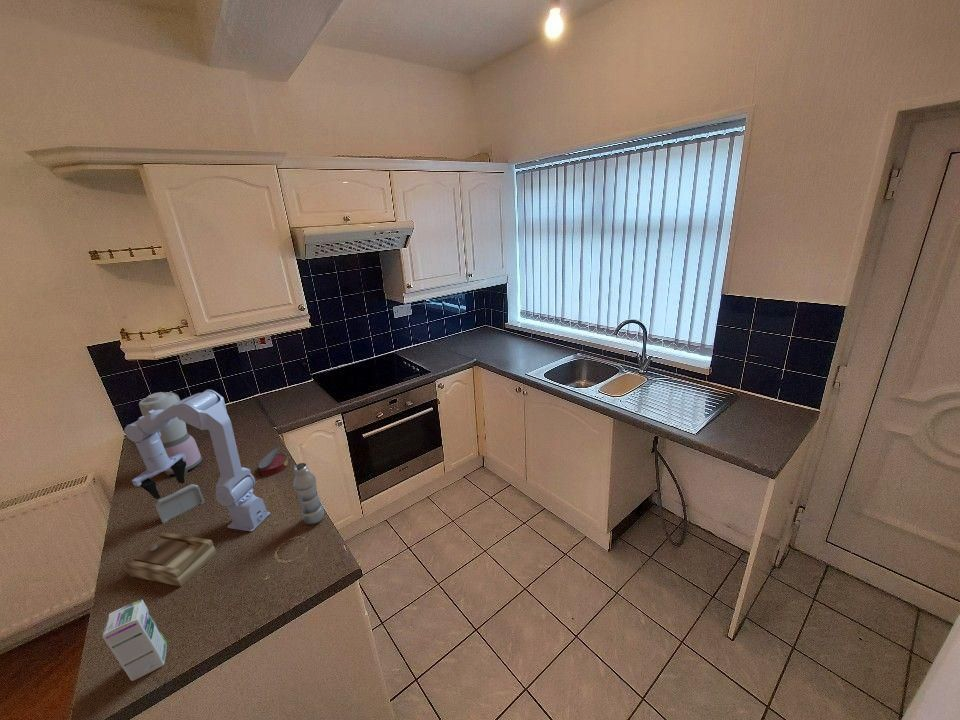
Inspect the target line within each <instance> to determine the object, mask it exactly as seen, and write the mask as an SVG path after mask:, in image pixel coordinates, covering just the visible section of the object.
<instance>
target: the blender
mask: <svg viewBox="0 0 960 720" xmlns="http://www.w3.org/2000/svg"><path fill="white" fill-rule="evenodd" d="M179 401H181V398H180V396H179V394H177V393H175V392H172V391H169V392H168V391H166V392H163V391H159V392H154V393H152V394H149V395H148V396H146V397H145V398H143V399H142V400H140V401H139V403H138V407H139V409H140V412H141V417H142V416H144V417H145V416H146V415H148V414H147V412H149V411H151V410H166V409H167V408H169V407H171V406H172V405H174V404H175V403H177V402H179ZM186 424H187V423H186V422H184V421H182V420H179V419H178V418H177V417H175V418H173V419H172V422H171V424H170V425H169V426H168V427H166V428H164V429H162V430H160V433H161V436H160V439H161V441H162V444H163V446H164V448H165V451H166V453H167V455H168V458H170V457H173V456H175V455H177V454H179V453H183V454H185V456H186V459H185V460H183V461H186V467H185V472H184V475H186V474H188V473H189V472H188V471H189V470H191V469H193V468H195V467H196V466H198V465H199V464H200V463H201V462H203V458H202V457H203V456H202V455H201V453H200V449H199V448H198V445H197V442H196V439H195V438H194V437H193V436H192V435H191V434H189V433H188V430H187V425H186ZM164 473H165V474H166V476H168V477H170V476H171V475H175V474H174V472H173V470H172V469H171V467H170V468H168V469H167V470H165V471H164Z"/></svg>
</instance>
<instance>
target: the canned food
mask: <svg viewBox="0 0 960 720" xmlns="http://www.w3.org/2000/svg"><path fill="white" fill-rule="evenodd" d="M280 449H281V446H277V447H276V448H274V449H273V450H271V451H269V452H268V454H267V455H265V456H264V457H263V458H262V460H260V462H259V463H258V469H259V472H260V474H261V475H262V476H265V477H266V476H268V477H269V476H273V475H276V474H277V475H278V474H279V473H281V472H283V471H284V470H286V469H287V468H286V467H288V466H289V462H288V461H289V460H288V458H287V455H285V454H283V453H279V451H280Z"/></svg>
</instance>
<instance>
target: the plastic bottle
mask: <svg viewBox="0 0 960 720" xmlns="http://www.w3.org/2000/svg"><path fill="white" fill-rule="evenodd" d="M293 473H294V475H295V476H294V478H293V481H292V486H293V489H294V491H295V493H296V495H297V498H298V500H299V503H300V508H301V519H302V520H303V522H304V523H305V524H307V525H315V524H317V523H320V521H322V520H323V518H324V516H325V508H324V506H323V504H322V502H321V499H320V497H319V493H318V489H317V479H316V476H315V474H314V473H312V472H311V471H309V467H308V465H307V463H305V462H299V463H297V464H296V465H294V466H293Z"/></svg>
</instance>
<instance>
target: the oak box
mask: <svg viewBox="0 0 960 720" xmlns="http://www.w3.org/2000/svg"><path fill="white" fill-rule="evenodd" d="M158 536H159V538H163V539H169V540H175V541H181V542H187V544H188V546H189V547H188V548H186V549H185V550H184V551H183V552H182V553H181V554H179V555H178V556H177V557H176V558H175V559H174V560H173V561H171V562H170V563H169V564H168V565H167V566H166V567H165V566H160V565H155V564H150V563H144V562H139V561H134V559H129V558H128V559H127V560H125V561H123V565H124V566H125V567H124V568H125V569H126V570H127V573H128V575H129V577H132V578H134V577H135V578H139V579H143V580H148V581H152V582H156V583H157V582H158V583H162V584H167V585H171V586H177V587H183V586H184V585H185V583H187V582H188V581H189V580H190V579H191V578H192V577H193V576H194V575H195V574H196V573H197V572H198V571H199V570H201V568H203V566H205V565H206V564H207V563H208V562H209V561H210V560H211V559H212V558H213V557H214V556H215V555H216V554H217V553H218V552H217V550H216V547H215V546H214V545H215V544H214V543H213V540H212V539H208V538H201V537H196V536H189V535H184V534H178V533H171V532H166V531H163V532H161V533H160V534H159V535H158Z"/></svg>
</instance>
